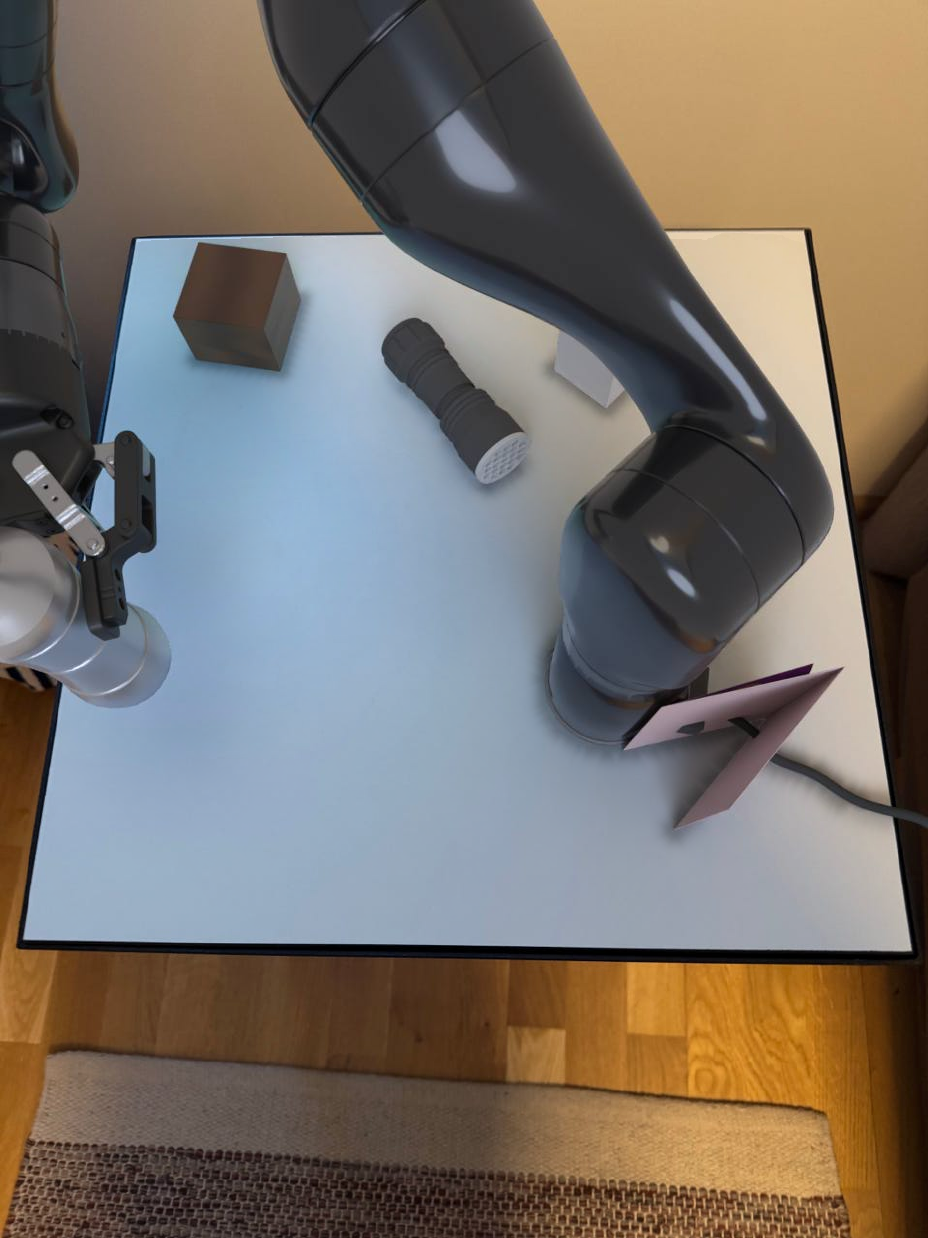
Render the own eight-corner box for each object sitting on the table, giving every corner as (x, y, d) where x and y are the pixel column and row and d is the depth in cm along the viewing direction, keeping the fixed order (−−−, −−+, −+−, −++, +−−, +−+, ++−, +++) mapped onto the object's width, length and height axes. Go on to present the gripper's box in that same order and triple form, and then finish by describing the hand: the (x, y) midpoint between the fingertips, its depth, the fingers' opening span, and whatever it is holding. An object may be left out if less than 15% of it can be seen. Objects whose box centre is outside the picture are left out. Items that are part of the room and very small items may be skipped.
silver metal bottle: (153, 596, 55) (-30, 448, 36) (200, 680, 53) (34, 573, 34) (64, 648, 54) (-172, 526, 35) (109, 736, 52) (-114, 657, 33)
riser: (301, 299, 78) (286, 252, 72) (280, 371, 76) (263, 328, 70) (219, 288, 79) (198, 241, 73) (195, 359, 76) (172, 316, 71)
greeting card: (762, 707, 65) (840, 652, 50) (795, 802, 62) (886, 773, 48) (619, 739, 64) (657, 693, 50) (647, 836, 62) (694, 817, 48)
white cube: (605, 409, 74) (615, 368, 68) (554, 370, 75) (559, 327, 69) (649, 365, 75) (662, 321, 69) (597, 328, 76) (605, 282, 70)
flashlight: (378, 370, 75) (370, 331, 70) (427, 340, 76) (423, 299, 71) (479, 493, 71) (478, 461, 66) (529, 459, 72) (532, 425, 67)
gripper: (-174, 360, 42) (-164, 671, 37) (105, 293, 43) (151, 592, 38) (-77, 434, 50) (-58, 704, 45) (161, 376, 50) (206, 636, 45)
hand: (38, 651), depth 41 cm, fingers closed on silver metal bottle, 6 cm apart
